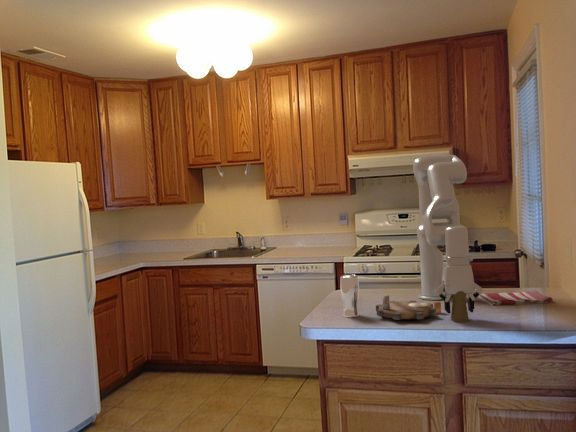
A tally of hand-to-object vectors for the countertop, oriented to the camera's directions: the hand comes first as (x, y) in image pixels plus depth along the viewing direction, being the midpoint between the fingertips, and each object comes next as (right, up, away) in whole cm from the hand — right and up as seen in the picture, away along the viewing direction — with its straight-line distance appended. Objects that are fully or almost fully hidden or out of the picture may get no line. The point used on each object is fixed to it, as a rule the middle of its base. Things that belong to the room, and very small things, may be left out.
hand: (459, 311), depth 173 cm
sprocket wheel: (-17, -2, +9) cm, 19 cm away
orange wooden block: (-13, -3, +11) cm, 17 cm away
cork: (0, -3, 0) cm, 3 cm away
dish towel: (+31, -1, +26) cm, 40 cm away
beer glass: (-36, -4, +15) cm, 39 cm away
